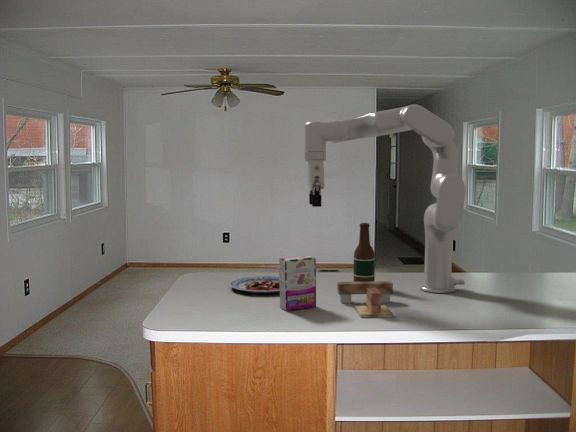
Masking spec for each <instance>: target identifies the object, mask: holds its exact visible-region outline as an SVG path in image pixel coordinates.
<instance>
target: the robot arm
mask: <svg viewBox="0 0 576 432" xmlns="http://www.w3.org/2000/svg"><path fill="white" fill-rule="evenodd" d="M412 130H413V131H414V132H415V133H417V135H420V137H421V138H422V142H423V143H424V144H425V145H426V146H427V147H428V148H429V149H430V150H431V152H432V156H433V165H432V166H433V167H432V174H431V182H430V193H431V195H432V196H433V197H435V198H436V202H435V203H432V204H430V205H429V206H428V207H427V208H426V209H425V211H424V215H423V224H424V226H423V227H424V240H425V242H424V279H423V280H424V281H423V283H421V284H420V285H419V289H420V290H421V291H424V292H427V293H432V294H433V293H434V294H437V293H438V294H447V293H453V292H456V286H457V285H459V286H463V285H465V279H460V278H454V277H453V276H452V261H453V259H452V258H453V234H452V233H453V232H455V231H456V230H457V229H458V228H459V227H460V225H461V223H462V219H463V214H464V208H465V199H466V185H465V181H464V180H463V179H462V177H461V176H460V175H458V168H459V167H458V166H459V152H458V148H457V145H456V143H455V142H454V138H455V129H454V128H453V127H452V125H451V124H449V122H448V121H445V120H444V119H442V118H441V117H439V116H438V115H436V114H434V113H433V112H432V111H430V110H428V109H427V108H425V107H424V106H422V105H419V104H410V105H406V106H401V107H397V108H390V109H387V110H386V109H385V110H379V111H373V112H369V113H368V114H367V113H366V114H365V115H362V116H359V117H355V118H350V119H349V118H348V119H345V120H331V121H315V120H314V121H307V122H306V123H305V124H304V162H307V182H308V183H307V184H308V185H307V187H308V188H309V193H308V194H309V195H308V196H309V197H308V199H309V201H308V203H309V205H311V206H312V207H315V208H317V207H320V208H321V207H322V190H324V189H325V169H324V168H325V167H324V162H327V142H330V143H332V144H338V143H342V142H347V141H352V140H359V139H364V138H375V137H377V138H378V137H380V136H387V135H391V134H396V133H397V134H398V133H402V132H407V131H412Z"/></svg>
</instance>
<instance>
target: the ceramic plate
mask: <svg viewBox="0 0 576 432" xmlns="http://www.w3.org/2000/svg"><path fill="white" fill-rule="evenodd" d="M229 287H231V288H232V289H234V290H239V291H243V292H245V291H246V292H245V293H249V292H250V293H249V294H258V293H269V294H275V293H280V278H279V276H276V275H275V276H272V275H271V276H270V275H269V276H268V275H262V276H261V275H259V276H258V275H257V276H248V277H243V278H242V277H241V278H237V279H234V280H232V281H231V282H229Z"/></svg>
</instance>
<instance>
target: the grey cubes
mask: <svg viewBox="0 0 576 432" xmlns="http://www.w3.org/2000/svg"><path fill="white" fill-rule="evenodd" d="M390 302H391V294H381V303H390ZM339 303H340V304H352V294H350V295H339Z"/></svg>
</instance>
